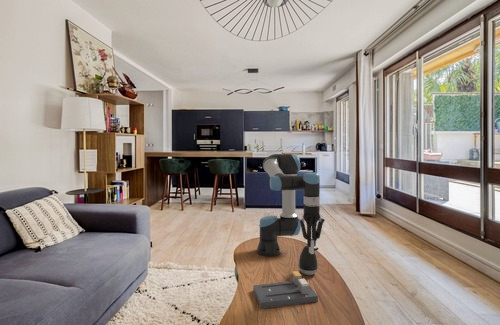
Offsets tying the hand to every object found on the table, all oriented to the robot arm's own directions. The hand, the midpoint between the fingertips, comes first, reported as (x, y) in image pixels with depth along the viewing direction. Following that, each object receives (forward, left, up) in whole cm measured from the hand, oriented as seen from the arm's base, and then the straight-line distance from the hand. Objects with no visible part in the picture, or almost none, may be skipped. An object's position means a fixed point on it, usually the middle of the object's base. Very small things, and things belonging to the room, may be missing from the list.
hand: (311, 252), depth 129 cm
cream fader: (+8, -7, -14) cm, 18 cm away
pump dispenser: (-14, +5, -17) cm, 23 cm away
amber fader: (0, -7, -14) cm, 16 cm away
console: (+5, -15, -17) cm, 23 cm away
